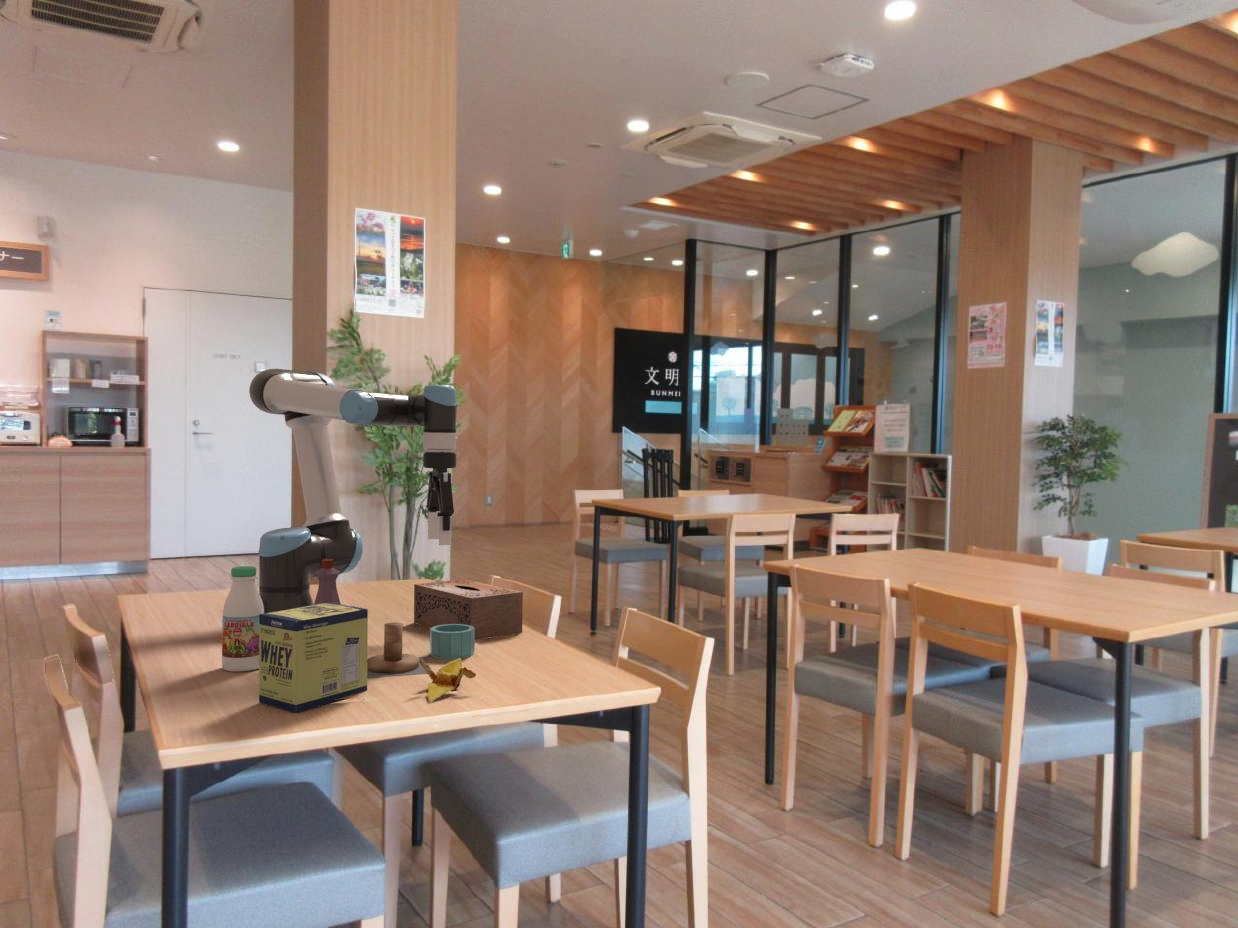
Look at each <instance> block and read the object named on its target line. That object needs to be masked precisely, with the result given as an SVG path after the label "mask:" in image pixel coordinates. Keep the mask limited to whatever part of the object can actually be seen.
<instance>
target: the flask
mask: <svg viewBox="0 0 1238 928" xmlns="http://www.w3.org/2000/svg"><path fill="white" fill-rule="evenodd" d="M333 561H334V560H333V559H324V560H322V567H323V568H321V569H320V570H319V571H317V572H316V575H317V577H316V578H317V580H318V589H317V592H316V597H315V600H314V601H313V604H314V605H317V604H323V603H329V602H332V603H338V604H342V603H341V600H340V596H339V592H338V588H337V579H338V577H339V572H338V571H337V570H336V569H334V568H333Z"/></svg>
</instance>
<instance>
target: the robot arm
mask: <svg viewBox="0 0 1238 928" xmlns="http://www.w3.org/2000/svg"><path fill="white" fill-rule="evenodd" d="M248 393H249V397H250V400H251V402H252V403H253V405H254V406H255V407H256V408H258V409H259V410H260V411H262V412H264V413H266V414H272V415H283V416H284V421H285V426H286V427H288V428H289V429H291V431H292V432H293V439H294V444H295V445H294V447H295V451H296V456H297V464H298V471H299V475H300V476H299V477H300V482H301V488H302V494H303V495H302V497H303V502H304V509H305V513H306V521H305V522H304V524H303V525H302V526H290V527H282V528H277V529H273V530H269V531H267V532H264V533H263V534H262V535H261V537H260V539H259V547H258V555H259V559H258V561H259V562H258V563H259V569H258V570H259V572H258V573H259V575H258V577H259V578H258V584H259V585H258V586H259V587H258V590H259V591H258V593H259V595H260V597H261V599H262V602H263V607H264V613H271V612H278V611H283V610H289V609H295V608H301V607H306V606H312V605H314V601H313V598H312V595H311V590H310V589H311V588H310V585H311V584H310V583H311V581H310V580H311V579H314V578H315V579H316V578H317V575H316V572H317V571H319V570H320V569H321V568H323V567H322V560H324V559H333V560H334V561H333V568H334V569H336V570H337V571H338V572H339V575H341V574H347V573H349V572H352V571H353V570H355V568H356V567H357V566H358V564H359V562H360V561H361V559H362V555H363V550H364V543H363V538H362V536H361V534H360V533H359V532H358V531H357V529H354V528H352V527H350V526H351V525H350V519H349V518H347V517H346V516H344V515H343V514H342V508H341V503H340V501H341V500H340V497H339V496H340V495H339V491H338V484H337V479H336V478H337V477H336V472H335V471H336V470H335V466H334V460H333V455H332V447H331V440H330V436H329V435H330V434H329V430H328V425H329V424H330V423H331V421H332V420H333V419H334V420H340V421H345V422H346V423H348V424H350V425H351V424H352V425H357V426H390V427H392V426H394V427H400V428H405V427H423V432H422V433H423V434H422V438H423V440H422V441H423V443H422V444H423V450H425V452H424V453H423V456H422V457H423V459H422V460H423V463H422V464H423V465H422V466H423V468H425V469H432V470H430V471H429V472H428V488H427V496H426V497H427V499H426V505H425V506H426V509H427V512H428V513H427V518H428V520H427V527H428V528H427V540H438V545H439V546H451V545H452V543H453V542H452V541H453V540H452V535H453V534H452V531H453V530H452V529H453V524H452V521H453V520H452V519H453V515H454V513H455V508H454V507H455V506H454V498H453V497H454V496H453V488H452V472H448V469H455V468H456V467H457V454H456V452H454V451H456V449H457V442H459V437H457V407H458V402H457V390H456V388H455V387H454V386H452V385H445V384H428V385H427V384H426V385H425V386H424V388H423V392H422V394H401V393H390V392H389V393H388V392H376V391H366V390H360V389H353V388H347V387H346V388H345V387H340V386H336V385H335V383H334V381H333V380H332V379H331V378H330V377H328V376H327V375H326V374H324V373H320V372H316V371H312V370H311V371H310V370H306V371H305V370H294V369H293V370H292V369H283V368H282V369H281V368H269V369H264V370H262V371H261V372H259V373H257V374H256V375H254V377H253V379H252V380H251V382H250V384H249V391H248ZM339 575H338V576H339Z"/></svg>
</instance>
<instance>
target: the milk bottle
mask: <svg viewBox="0 0 1238 928" xmlns="http://www.w3.org/2000/svg"><path fill="white" fill-rule="evenodd" d="M230 570H231V571H230V576H231V577H230V579H231V580H232V582H231V588H230V590H229V592H228V595H227V597H226V599H225V602H224V604H223V609H222V619H221V620H222V621H221V622H222V625H221V627H222V629H221V633H222V635H221V667H222V669H223V670H224V671H225V672H232V673H233V672H249V671H255V670H259V615H260V614H264V607H263V602H262V599H261V597H260V595H259V591H258V588H257V585H256V579H257V568H256V566H246V565H245V566H244V565H243V566H234V567H232V568H231V569H230Z"/></svg>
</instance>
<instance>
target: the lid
mask: <svg viewBox="0 0 1238 928" xmlns="http://www.w3.org/2000/svg"><path fill="white" fill-rule="evenodd" d="M383 627H384V628H383V629H384V631H383V632H384V633H383V635H384V637H383V638H384V639H383V642H384V643H383V654H379V655H377V654H376V655H374V656H370V657H369V658H368V657H367V670H369V671H371V672H376V673H402V672H408V671H412V670H415V669H417V668H418V667H419V658H418V657H419V656H417V655H414V654H408V653H403V632H404V631H403V630H404V629H403V622H386V623H384V626H383Z"/></svg>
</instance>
